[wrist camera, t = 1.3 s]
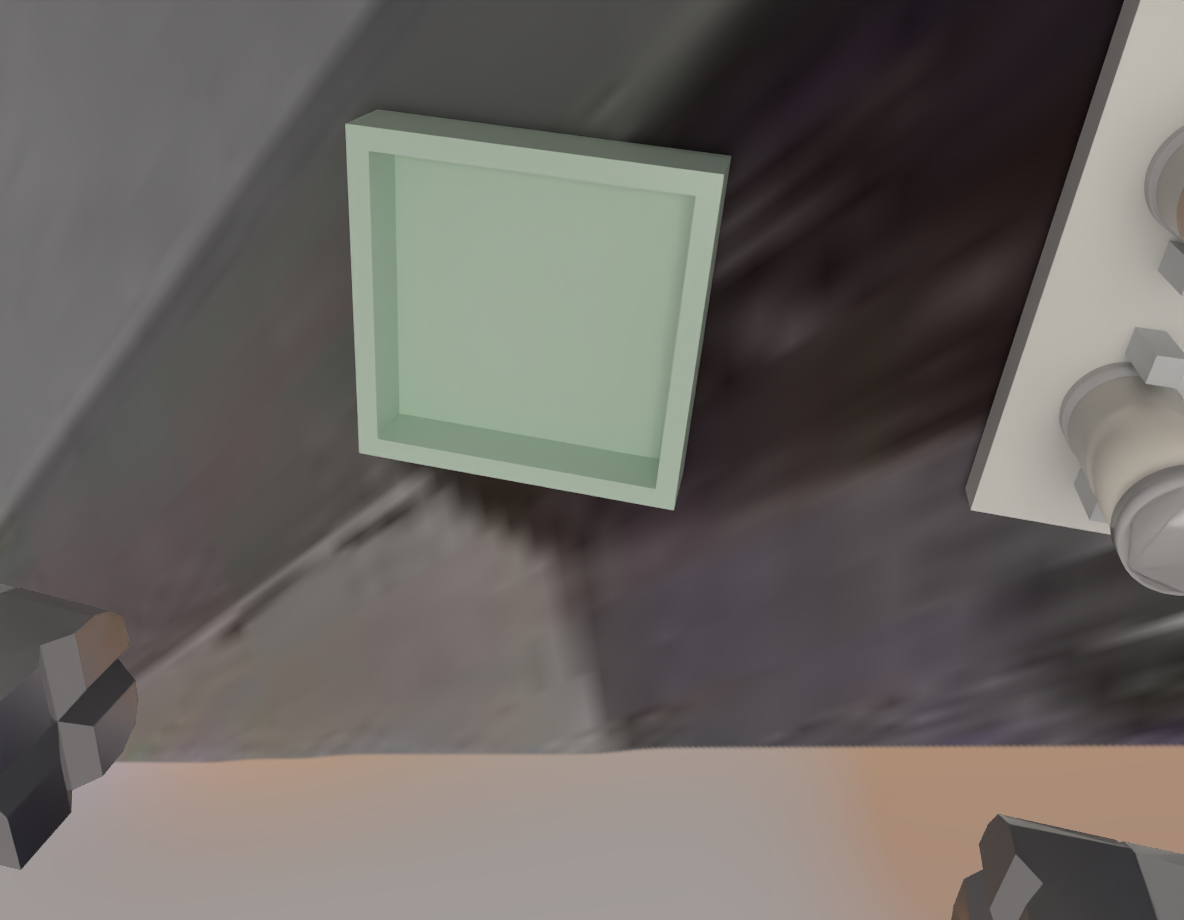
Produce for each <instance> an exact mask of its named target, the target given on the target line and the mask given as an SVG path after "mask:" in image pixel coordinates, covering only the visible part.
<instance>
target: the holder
mask: <svg viewBox="0 0 1184 920" xmlns="http://www.w3.org/2000/svg"><path fill="white" fill-rule="evenodd" d="M1182 126H1184V0H1124V2H1123V5H1122V8H1121V12H1120V15H1119V18H1118V21H1117V24H1116V27H1115V30H1114V33H1113V36H1112V39H1111V42H1110V45H1109V48H1108V51H1107V55H1106V58H1105V61H1104V64H1103V67H1102V70H1101V73H1100V76H1099V79H1098V82H1097V85H1096V88H1095V91H1094V94H1093V97H1092V101H1091V104H1090V107H1089V110H1088V113H1087V116H1086V119H1085V122H1084V125H1083V128H1082V131H1081V134H1080V137H1079V140H1078V144H1077V147H1076V150H1075V153H1074V156H1073V159H1072V162H1071V165H1070V168H1069V171H1068V174H1067V177H1066V180H1065V183H1064V186H1063V190H1062V193H1061V196H1060V199H1059V202H1058V205H1057V208H1056V211H1055V214H1054V217H1053V220H1052V223H1051V226H1050V229H1049V233H1048V236H1047V239H1046V242H1045V245H1044V248H1043V251H1042V254H1041V257H1040V260H1039V263H1038V266H1037V269H1036V272H1035V275H1034V279H1033V282H1032V285H1031V288H1030V291H1029V294H1028V297H1027V300H1026V303H1025V306H1024V309H1023V312H1022V315H1021V318H1020V322H1019V325H1018V328H1017V331H1016V334H1015V337H1014V340H1013V343H1012V346H1011V349H1010V352H1009V355H1008V358H1007V361H1006V364H1005V368H1004V371H1003V374H1002V377H1001V380H1000V383H999V386H998V389H997V392H996V395H995V398H994V401H993V404H992V407H991V411H990V414H989V417H988V420H987V423H986V426H985V429H984V432H983V435H982V438H981V441H980V444H979V447H978V450H977V453H976V457H975V460H974V463H973V466H972V469H971V472H970V475H969V478H968V481H967V484H966V487H965V490H966V494H967V498H968V502H969V506H970V510H973V511H979V512H984V513H990V514H996V515H1002V516H1007V517H1013V518H1019V519H1024V520H1030V521H1036V522H1041V523H1047V524H1053V525H1059V526H1064V527H1070V528H1076V529H1081V530H1087V531H1093V532H1099V533H1104V534H1110V535H1111V533H1110V528H1109V526H1108V524H1107V521H1106V519H1105V517H1104V515H1103V513H1102V511H1101V508H1100V506H1099V504H1098V502H1097V500H1096V498H1095V496H1094V493H1093V491H1092V489H1091V487H1090V485H1089V483H1088V480H1087V478H1086V476H1085V474H1084V472H1083V470H1082V468H1081V465H1080V463H1079V461H1078V459H1077V457H1076V456H1075V455H1074V454H1073V452H1072V451H1071V449H1070V447H1069V446H1068V443H1067V441H1066V439H1065V437H1064V435H1063V432H1062V430H1061V427H1060V422H1059V414H1060V408H1061V404H1062V401H1063V399H1064V397H1065V395H1066V394H1067V392H1068V391H1069V389H1070V388H1071V387H1072V386H1073V385H1074V384H1075V383H1076V382H1077V381H1078V380H1079V379H1080V378H1081V377H1083V376H1084V375H1086V374H1087V373H1089V372H1090V371H1092V370H1094V369H1097V368H1099V367H1102V366H1105V365H1108V364H1112V363H1119V362H1131V363H1132V365H1133V366H1134V368H1135V369H1136V371H1137V372H1138V374H1139V375H1140V376H1141V378H1142V379H1143V381H1144V382H1145V384H1151V385H1158V386H1164V387H1171V388H1176V389H1177V390H1178V391H1179V393H1180V394H1181V395H1182V397H1183V399H1184V243H1183V241H1182V240H1181V239H1179V238H1177V237H1175V236H1174V235H1172V234H1171V233H1170V232H1169V231H1167V230H1166V229H1165V228H1164V227H1163V226H1162V225H1161V224H1160V223H1159V222H1158V221H1157V220H1156V219H1155V218H1154V217H1153V215H1152V214H1151V212H1150V210H1149V208H1148V206H1147V203H1146V200H1145V194H1144V182H1145V176H1146V172H1147V169H1148V166H1149V164H1150V162H1151V160H1152V158H1153V156H1154V154H1155V153H1156V151H1157V150H1158V149H1159V147H1160V146H1161V145H1162V143H1163V142H1164V141H1165V140H1166V139H1167V138H1168V137H1169V136H1170V135H1172V134H1173V133H1174V132H1175V131H1176V130H1178V129H1179V128H1181V127H1182Z"/></svg>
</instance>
